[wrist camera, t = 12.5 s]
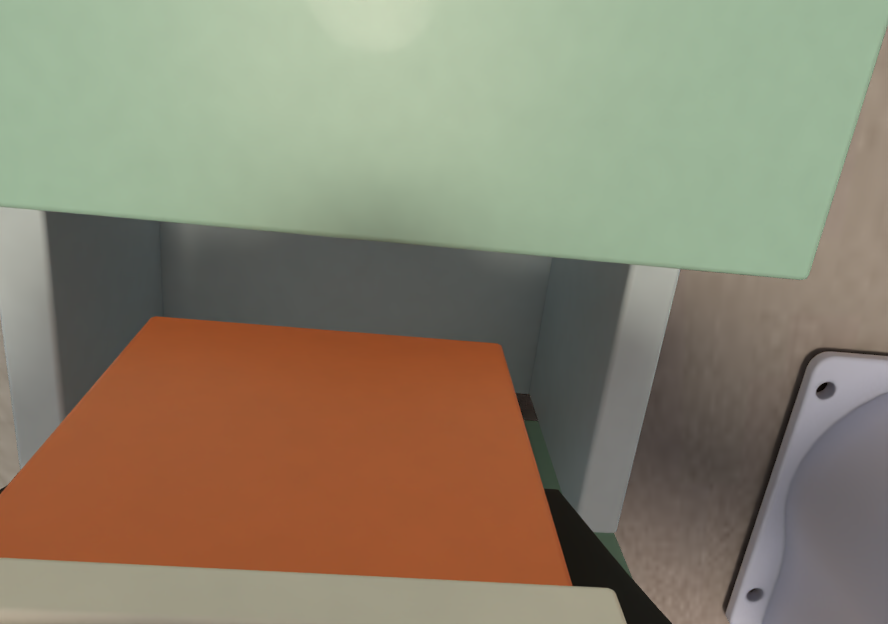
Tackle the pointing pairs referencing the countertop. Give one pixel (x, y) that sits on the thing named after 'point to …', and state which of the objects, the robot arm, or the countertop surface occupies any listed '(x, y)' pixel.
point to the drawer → (344, 322)
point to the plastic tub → (289, 489)
